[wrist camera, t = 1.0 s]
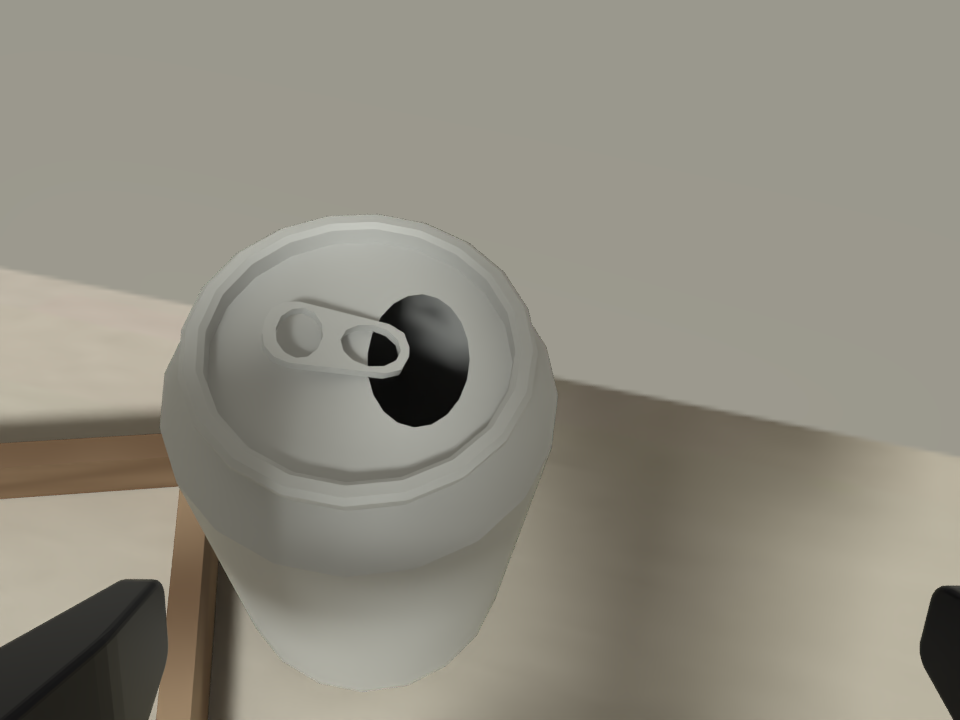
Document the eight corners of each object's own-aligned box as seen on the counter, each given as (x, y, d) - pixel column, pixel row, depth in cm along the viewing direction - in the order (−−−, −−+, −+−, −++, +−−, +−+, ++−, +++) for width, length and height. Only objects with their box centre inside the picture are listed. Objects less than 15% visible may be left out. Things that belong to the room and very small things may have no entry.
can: (498, 702, 21) (592, 549, 11) (224, 694, 21) (70, 528, 11) (496, 460, 25) (563, 196, 16) (269, 449, 25) (189, 167, 15)
